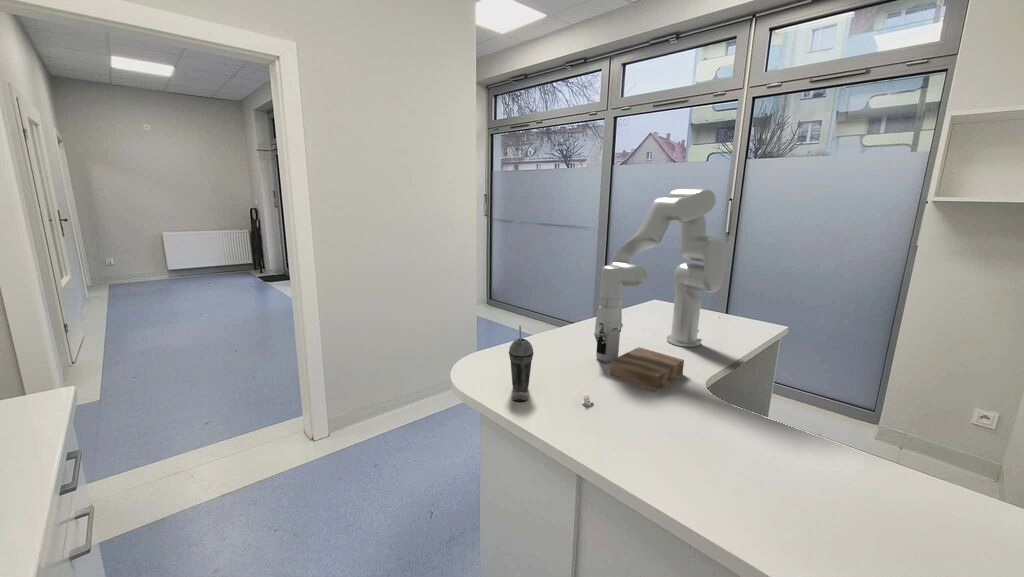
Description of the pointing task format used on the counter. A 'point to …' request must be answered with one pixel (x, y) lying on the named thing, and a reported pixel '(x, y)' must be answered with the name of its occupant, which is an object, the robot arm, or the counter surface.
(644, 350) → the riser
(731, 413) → the counter surface
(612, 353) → the can
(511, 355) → the beverage cup
